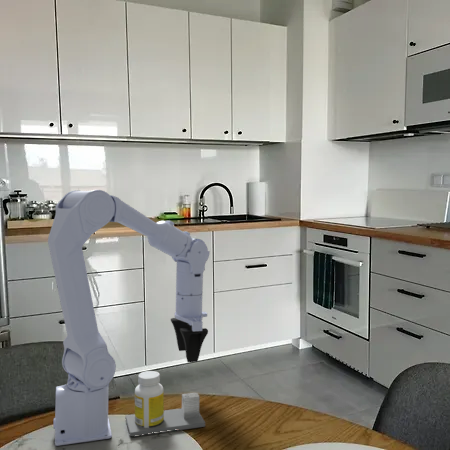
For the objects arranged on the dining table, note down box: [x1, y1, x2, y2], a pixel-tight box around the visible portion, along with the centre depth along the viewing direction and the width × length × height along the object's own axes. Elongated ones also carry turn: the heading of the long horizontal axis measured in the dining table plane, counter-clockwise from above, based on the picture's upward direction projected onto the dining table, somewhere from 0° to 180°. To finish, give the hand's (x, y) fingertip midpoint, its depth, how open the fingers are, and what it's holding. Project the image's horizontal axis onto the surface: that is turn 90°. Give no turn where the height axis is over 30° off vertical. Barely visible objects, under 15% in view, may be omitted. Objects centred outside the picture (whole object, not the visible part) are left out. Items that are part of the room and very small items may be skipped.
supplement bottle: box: [134, 370, 165, 428], centre depth 85 cm, size 5×5×10 cm
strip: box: [125, 392, 206, 437], centre depth 86 cm, size 14×7×5 cm, turn 109°
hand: (187, 355), depth 98 cm, fingers open, 7 cm apart
